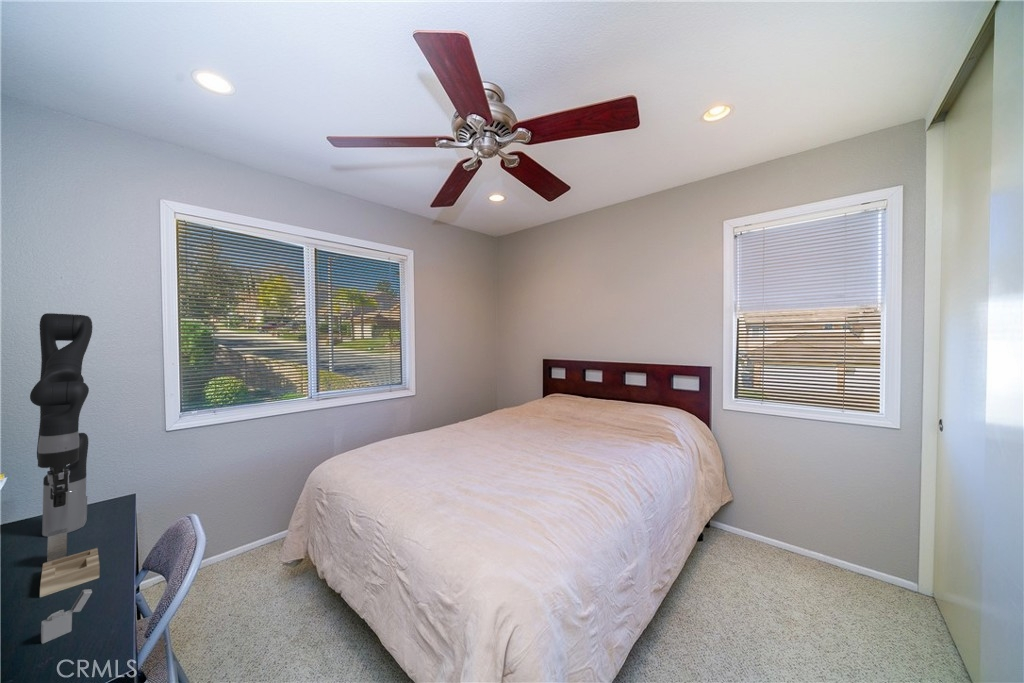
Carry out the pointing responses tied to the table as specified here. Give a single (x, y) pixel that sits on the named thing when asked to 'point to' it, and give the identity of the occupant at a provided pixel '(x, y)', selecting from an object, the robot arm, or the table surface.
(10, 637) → the table surface
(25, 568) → the table surface
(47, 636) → the lighter
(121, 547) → the table surface
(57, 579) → the holder
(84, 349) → the robot arm
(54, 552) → the grey rectangular block
